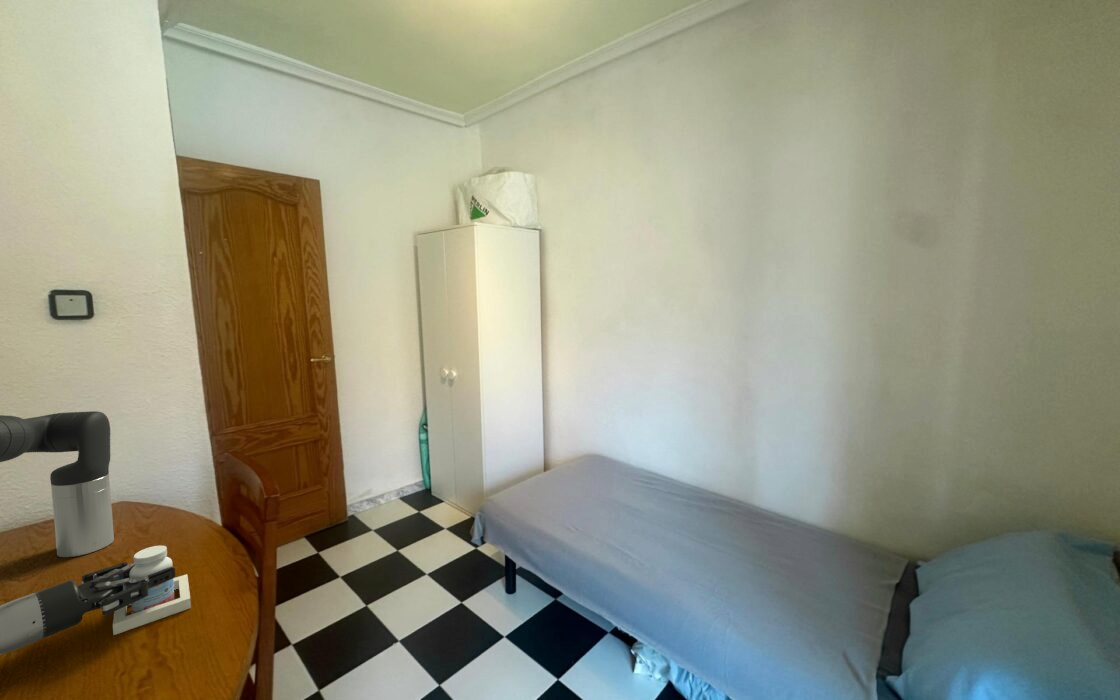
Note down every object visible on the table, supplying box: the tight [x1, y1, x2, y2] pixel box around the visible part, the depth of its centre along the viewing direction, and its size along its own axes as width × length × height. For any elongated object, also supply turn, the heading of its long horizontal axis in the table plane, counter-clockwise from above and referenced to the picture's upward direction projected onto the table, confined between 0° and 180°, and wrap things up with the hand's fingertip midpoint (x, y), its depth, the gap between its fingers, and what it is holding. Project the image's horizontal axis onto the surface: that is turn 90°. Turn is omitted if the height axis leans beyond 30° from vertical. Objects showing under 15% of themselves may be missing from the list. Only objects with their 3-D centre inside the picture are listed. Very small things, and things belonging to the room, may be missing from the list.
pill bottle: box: [129, 545, 175, 614], centre depth 82 cm, size 6×6×11 cm
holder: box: [112, 573, 192, 636], centre depth 82 cm, size 10×10×2 cm
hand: (167, 566), depth 84 cm, fingers closed on pill bottle, 6 cm apart
